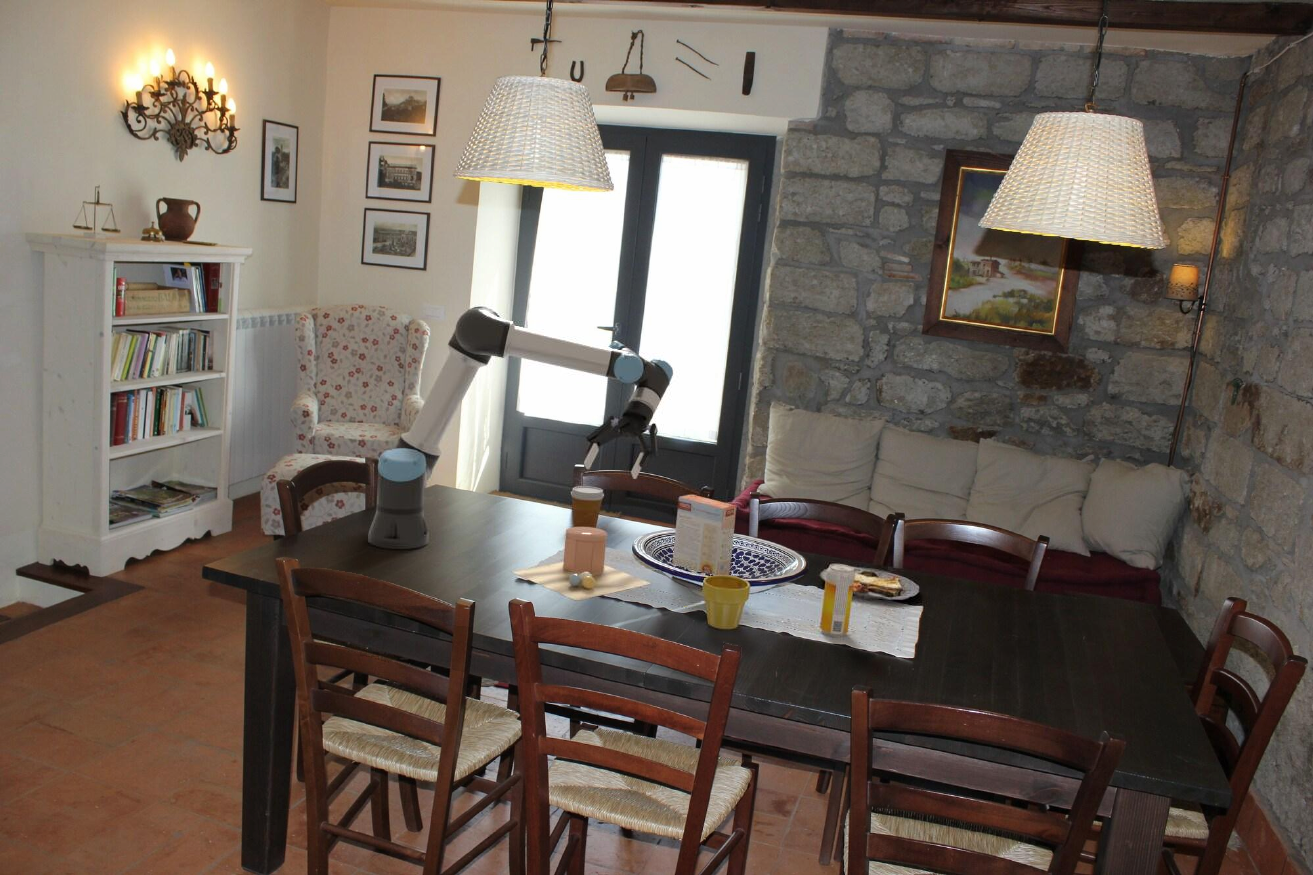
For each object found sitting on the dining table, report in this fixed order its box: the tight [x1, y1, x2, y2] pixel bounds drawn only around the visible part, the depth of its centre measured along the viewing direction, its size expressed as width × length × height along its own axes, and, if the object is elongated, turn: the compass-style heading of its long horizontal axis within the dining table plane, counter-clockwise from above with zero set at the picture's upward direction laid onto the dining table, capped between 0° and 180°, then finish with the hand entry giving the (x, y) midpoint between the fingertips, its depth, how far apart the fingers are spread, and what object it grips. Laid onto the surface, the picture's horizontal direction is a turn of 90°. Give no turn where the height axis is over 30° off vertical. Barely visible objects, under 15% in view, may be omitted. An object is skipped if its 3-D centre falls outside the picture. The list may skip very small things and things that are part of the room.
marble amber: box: [582, 576, 595, 589], centre depth 232 cm, size 3×3×3 cm
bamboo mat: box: [511, 561, 652, 602], centre depth 240 cm, size 24×24×1 cm
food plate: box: [818, 566, 920, 601], centre depth 255 cm, size 25×23×4 cm
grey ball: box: [569, 574, 582, 587], centre depth 233 cm, size 3×3×3 cm
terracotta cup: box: [563, 526, 608, 574], centre depth 247 cm, size 10×10×9 cm
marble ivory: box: [580, 572, 592, 583], centre depth 235 cm, size 3×3×3 cm
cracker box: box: [671, 494, 737, 576], centre depth 245 cm, size 14×6×21 cm, turn 50°
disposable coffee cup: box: [570, 485, 605, 528], centre depth 284 cm, size 10×10×12 cm
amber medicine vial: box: [819, 563, 855, 638], centre depth 218 cm, size 6×6×15 cm
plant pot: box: [701, 575, 751, 630], centre depth 217 cm, size 10×10×10 cm
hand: (609, 470), depth 255 cm, fingers open, 13 cm apart
